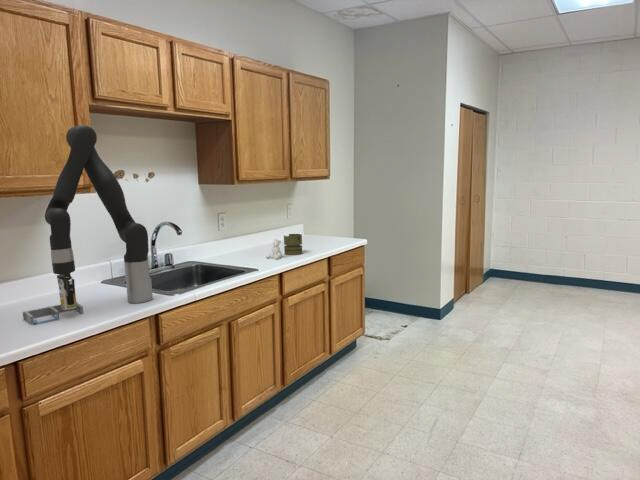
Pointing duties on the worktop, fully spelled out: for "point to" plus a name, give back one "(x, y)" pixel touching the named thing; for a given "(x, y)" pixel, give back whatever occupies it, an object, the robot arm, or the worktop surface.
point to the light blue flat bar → (45, 320)
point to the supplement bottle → (64, 300)
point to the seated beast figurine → (275, 251)
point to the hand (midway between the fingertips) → (68, 302)
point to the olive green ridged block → (293, 244)
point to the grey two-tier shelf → (48, 312)
